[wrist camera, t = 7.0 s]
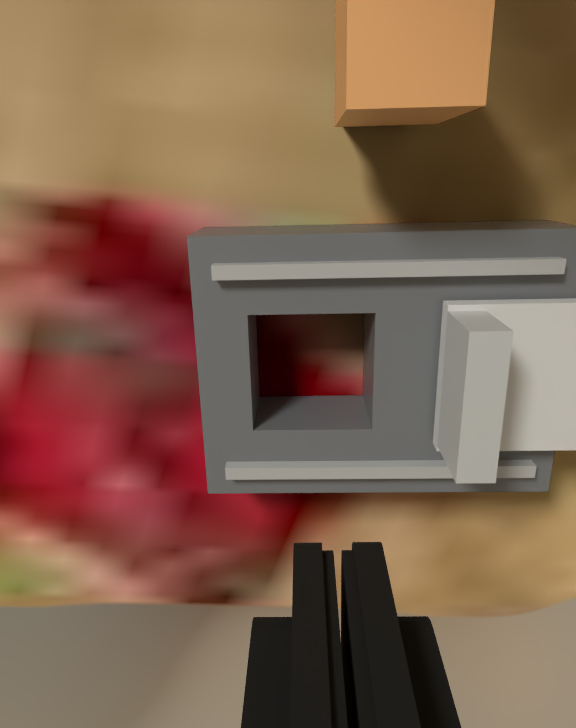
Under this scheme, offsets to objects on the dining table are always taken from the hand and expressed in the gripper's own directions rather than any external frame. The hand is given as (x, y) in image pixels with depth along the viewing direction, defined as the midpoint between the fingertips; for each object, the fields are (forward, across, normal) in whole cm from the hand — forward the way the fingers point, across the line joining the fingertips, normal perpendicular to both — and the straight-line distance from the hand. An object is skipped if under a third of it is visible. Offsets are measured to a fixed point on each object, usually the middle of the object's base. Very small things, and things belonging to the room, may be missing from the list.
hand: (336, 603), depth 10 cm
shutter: (+14, -8, +1) cm, 16 cm away
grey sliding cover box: (+18, -3, +1) cm, 18 cm away
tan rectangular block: (+18, -3, -11) cm, 21 cm away
